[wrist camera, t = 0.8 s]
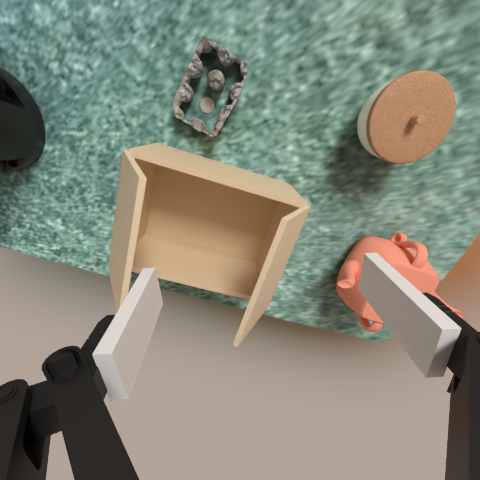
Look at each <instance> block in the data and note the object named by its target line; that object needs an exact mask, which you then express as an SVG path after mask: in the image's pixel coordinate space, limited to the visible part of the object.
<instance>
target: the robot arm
mask: <svg viewBox="0 0 480 480" xmlns="http://www.w3.org/2000/svg"><path fill="white" fill-rule="evenodd" d="M44 141H45V130H44V123H43V119H42V116H41V113H40V111H39V109H38V106H37V104H36V103H35V101H34V99H33V98H32V96H31V95H30V93H29V92H28V91H27V90H26V88H25V87H24V86H23V85H22V84H21V83H20V82H19V81H18V80H17V79H16V78H15V77H13V76H12V75H11V74H10V73H8V72H7V71H5V70H4V69H2V68H0V173H9V172H14V171H19V170H23V169H25V168H27V167H29V166H30V165H32V164H33V163H34V162H35V161H36V160H37V159H38V157H39V156H40V154H41V152H42V150H43V146H44ZM358 290H359V291H360V292H361V294H362V295H363V296H364V298H365V299H366V300H367V301H368V303H369V304H370V305H371V307H372V308H373V309H374V311H375V312H376V313H377V314H378V316H379V317H380V318H381V320H382V321H383V322H384V324H385V325H386V326H387V328H388V329H389V330H390V331H391V333H392V334H393V335H394V337H395V338H396V339H397V341H398V342H399V343H400V344H401V346H402V347H403V348H404V350H405V351H406V352H407V353H408V355H409V356H410V357H411V359H412V360H413V361H414V363H415V364H416V365H417V366H418V368H419V369H420V370H421V372H422V373H423V374H424V375H425V377H442V376H444V373H445V370H446V368H447V367H448V368H449V369H450V370H451V371H452V372H453V373H454V375H453V378H452V380H451V383H450V385H449V387H448V390H447V392H449V393H450V392H451V397H450V412H449V427H448V442H447V458H446V473H445V480H480V332H477V331H476V330H475V329H474V328H472V327H471V326H470V325H469V324H468V323H467V322H465V321H464V320H463V319H462V318H461V317H460V316H458V315H457V314H456V313H455V312H453V311H452V310H451V309H450V308H449V307H448V306H447V307H446V305H445V304H444V303H443V302H442V301H441V300H439V299H438V298H437V297H435V296H433V295H431V294H429V293H427V292H425V293H421V292H420V291H419V290H418V289H417V288H416V287H414V286H413V285H412V284H411V283H410V282H409V281H408V280H407V279H405V278H404V277H403V276H402V275H401V274H400V273H399V272H398V271H396V270H395V269H394V268H393V267H392V266H391V265H390V264H389V263H387V262H386V261H385V260H384V259H383V258H382V257H381V256H380V255H378V254H377V253H364V257H363V264H362V270H361V276H360V283H359V289H358ZM162 305H163V300H162V295H161V291H160V286H159V282H158V277H157V273H156V268H143V269H142V271H141V273H140V274H139V276H138V278H137V280H136V281H135V283H134V285H133V287H132V288H131V290H130V292H129V293H128V295H127V296H126V298H125V300H124V302H123V303H122V305H121V307H120V308H119V310H118V312H117V313H116V315H107V316H106V317H104V318H103V319H102V320H101V321H99V322H98V324H97V325H96V327H95V328H94V330H93V332H92V333H91V334H90V336H89V339H87V340H86V342H85V343H84V345H83V347H82V348H81V349H80V348H79V347H77V346H69V347H64V348H62V349H59V350H57V351H56V352H54V353H52V354H51V355H50V356H49V357H48V358H47V359H46V360H45V361H44V363H43V365H42V371H43V373H44V375H45V377H46V379H47V381H43V382H40V383H37V384H35V385H31V386H29V385H28V383H27V382H26V381H25V380H23V379H16V380H13V381H9V382H7V383H5V384H3V385H1V386H0V480H46V472H47V463H48V454H49V445H50V436H51V435H52V434H54V433H57V432H59V431H62V433H63V437H64V441H65V445H66V449H67V452H68V456H69V460H70V464H71V467H72V471H73V475H74V479H75V480H139V478H138V476H137V474H136V472H135V470H134V467H133V465H132V463H131V461H130V458H129V456H128V454H127V452H126V450H125V447H124V445H123V443H122V441H121V438H120V436H119V434H118V432H117V430H116V427H115V425H114V423H113V421H112V418H111V416H110V414H109V412H108V409H107V407H106V405H105V403H104V401H103V399H104V398H105V395H106V393H108V396H109V398H110V400H111V401H112V400H125V399H128V398H129V395H130V393H131V390H132V387H133V385H134V381H135V379H136V376H137V374H138V371H139V368H140V366H141V363H142V360H143V357H144V355H145V352H146V349H147V346H148V343H149V341H150V338H151V335H152V333H153V330H154V327H155V324H156V322H157V319H158V316H159V313H160V311H161V308H162Z"/></svg>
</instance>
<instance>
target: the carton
mask: <svg viewBox="0 0 480 480" xmlns="http://www.w3.org/2000/svg"><path fill="white" fill-rule="evenodd" d="M128 151H129V152H130V154H131V155H132V157H133V158H134V160H135V161H136V163H137V164H138V166H139V167H140V169H141V170H142V172H143V173H144V175H145V176H146V178H147V180H146V186H145V192H144V198H143V205H142V211H141V217H140V223H139V229H138V235H137V241H136V247H135V253H134V260H133V266H132V272H135V273H139V274H140V273H141V271H142V269H143V268H156V273H157V277H158V278H160V279H164V280H168V281H172V282H176V283H180V284H185V285H189V286H193V287H197V288H201V289H205V290H209V291H213V292H217V293H222V294H226V295H230V296H234V297H238V298H242V299H246V300H250V299H251V296H252V294H253V291H254V288H255V286H256V283H257V281H258V278H259V276H260V273H261V270H262V268H263V265H264V263H265V260H266V258H267V255H268V252H269V250H270V247H271V245H272V242H273V240H274V237H275V234H276V232H277V229H278V227H279V224H280V222H281V219H282V218H283V217H285V216H287V215H288V214H290V213H292V212H294V211H296V210H298V209H300V208H302V207H303V206H305V205H307V202H306V201H305V200H304V199H303V198H302V197H301V196H300V195H299V194H298V193H297V191H296V190H295V189H294V188H293V187H292V186H291V185H290V184H289V183H285V182H282V181H279V180H276V179H272V178H269V177H266V176H263V175H260V174H256V173H253V172H250V171H247V170H244V169H240V168H237V167H234V166H231V165H228V164H224V163H221V162H218V161H215V160H212V159H208V158H205V157H202V156H199V155H196V154H192V153H189V152H186V151H183V150H180V149H176V148H173V147H170V146H167V145H164V144H160V143H153V144H148V145H144V146H139V147H134V148H130V149H129V150H128Z"/></svg>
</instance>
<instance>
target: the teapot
mask: <svg viewBox="0 0 480 480" xmlns="http://www.w3.org/2000/svg"><path fill="white" fill-rule="evenodd" d="M410 247H412V248H416V250H417V251H416V250H414V249H412V248H410ZM364 253H377V254H378V255H380V256H381V257H382V258H383V259H384V260H385V261H386V262H387V263H389V264H390V265H391V266H392V267H393V268H394V269H395V270H396V271H398V272H399V273H400V274H401V275H402V276H403V277H404V278H405V279H407V280H408V281H409V282H410V283H411V284H412V285H413V286H414V287H416V288H417V289H418V290H419V291H420V292H421V293H425V292H427V293H429V294H431V295H433V296H435V297H437V298H438V299H439V300H441V301H442V302H443V303H444V304H445V305H446V307H447V306H448V307H449V308H450V309H451V310H452V311H453V312H455V313H456V314H457V315H458V316H460V317H461V318H464V314H463V313H462V312H460V311H458V310H456V309H454V308H452V307H451V306H449V305H448V304H446V303H445V302H444V301H443V300H442V299H441V298H440V297H439V296H438V295H437V294H436V293H435V292H434V291H435V289H436V287H437V285H438V283H439V276H438V275H437V273H436V272H435V270H434V269H433V267H432V266H431V264H430V263H429V262H428V261H427V258H428V251H427V248H426V247H425V246H424V245H423V244H421V243H418V242H413V241H407V236H406V235H405V234H404V233H400V232H398V233H395V234H394V235H393V236H392V237H391V239H390V240H387V239H383V238H379V237H374V236H363V237H362V238H361V239H360V240H358V241H356V242H355V243H354V246H353V249H352V250H351V251H350V253H349V254H348V256H347V258H346V259H345V261H344V263H343V265H342V267H341V269H340V271H339V275H338V278H337V282H336V290H337V293H338V295H339V296H340V298H341V299H342V300H343V301H344V303H345V304H346V305H347V306H348V307H350V308H351V309H352V310H353V311H354V312H356V313H357V314H358V315H359V320H360V323H361V326H362V327H363V328H364V329H365V330H367V331H370V332H376V331H378V330H380V329H381V328H382V327H383V325H384V322H383V321H382V320H381V318H380V317H379V316H378V314H377V313H376V312H375V311H374V309H373V308H372V307H371V305H370V304H369V303H368V301H367V300H366V299H365V298H364V296H363V295H362V294H361V292H360V291H359V290H358V289H359V283H360V276H361V270H362V264H363V257H364ZM368 319H369V320H372V321H374V322H373V323H372V324H371V325H370V323H369V320H368Z"/></svg>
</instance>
